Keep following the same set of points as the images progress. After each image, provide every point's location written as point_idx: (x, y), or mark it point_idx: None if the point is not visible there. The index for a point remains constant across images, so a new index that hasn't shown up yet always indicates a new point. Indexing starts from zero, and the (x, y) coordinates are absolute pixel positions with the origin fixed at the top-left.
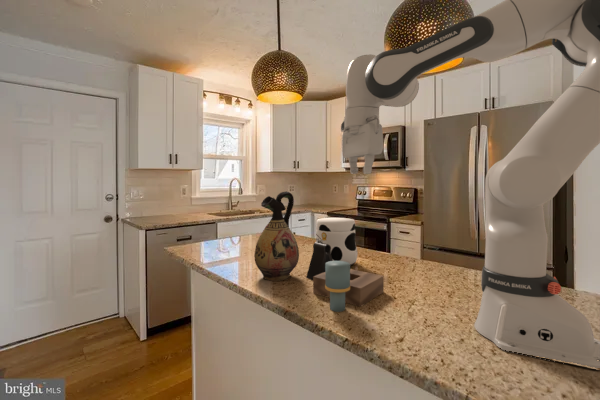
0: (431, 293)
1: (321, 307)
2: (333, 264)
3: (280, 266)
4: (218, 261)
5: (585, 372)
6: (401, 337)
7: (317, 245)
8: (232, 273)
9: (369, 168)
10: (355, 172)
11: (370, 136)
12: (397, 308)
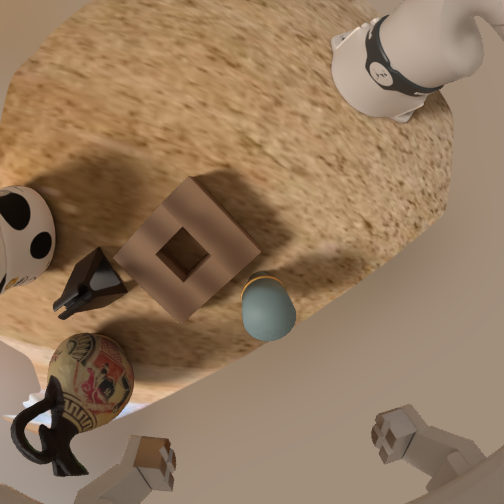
0: (214, 88)
1: None
2: (272, 327)
3: (131, 371)
4: None
5: None
6: (363, 221)
7: (71, 313)
8: None
9: (417, 428)
10: (169, 451)
11: None
12: (275, 182)
